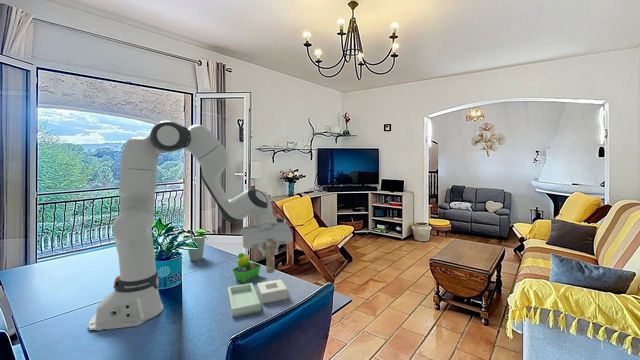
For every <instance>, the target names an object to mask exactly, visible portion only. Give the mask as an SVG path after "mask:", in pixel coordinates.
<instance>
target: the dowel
mask: <svg viewBox="0 0 640 360" xmlns="http://www.w3.org/2000/svg"><path fill="white" fill-rule="evenodd" d="M274 249H275V245H274V239H266V246H265V250H266V252H267V255H266V256H265V259H266V261H265V263H266V266H265V267H266V268H265V269H266V273H267V274H273V273H275V271H276V270H275V269H276V268H275V267H276V266H275V255H274Z"/></svg>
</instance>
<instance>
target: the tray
mask: <svg viewBox="0 0 640 360" xmlns="http://www.w3.org/2000/svg"><path fill="white" fill-rule="evenodd" d="M227 296H228V302H229V307H230V312H231V317H232V318H235V317H236V318H237V317H241V316H245V315H246V316H247V315H249V314H254V313H261V312H262V309H261V304H262V302H261V300H260V298H259V295H258V293H257V291H256V288H255V286H254V284H253V282H251V283H245V284H239V285H233V286H228V287H227Z"/></svg>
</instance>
